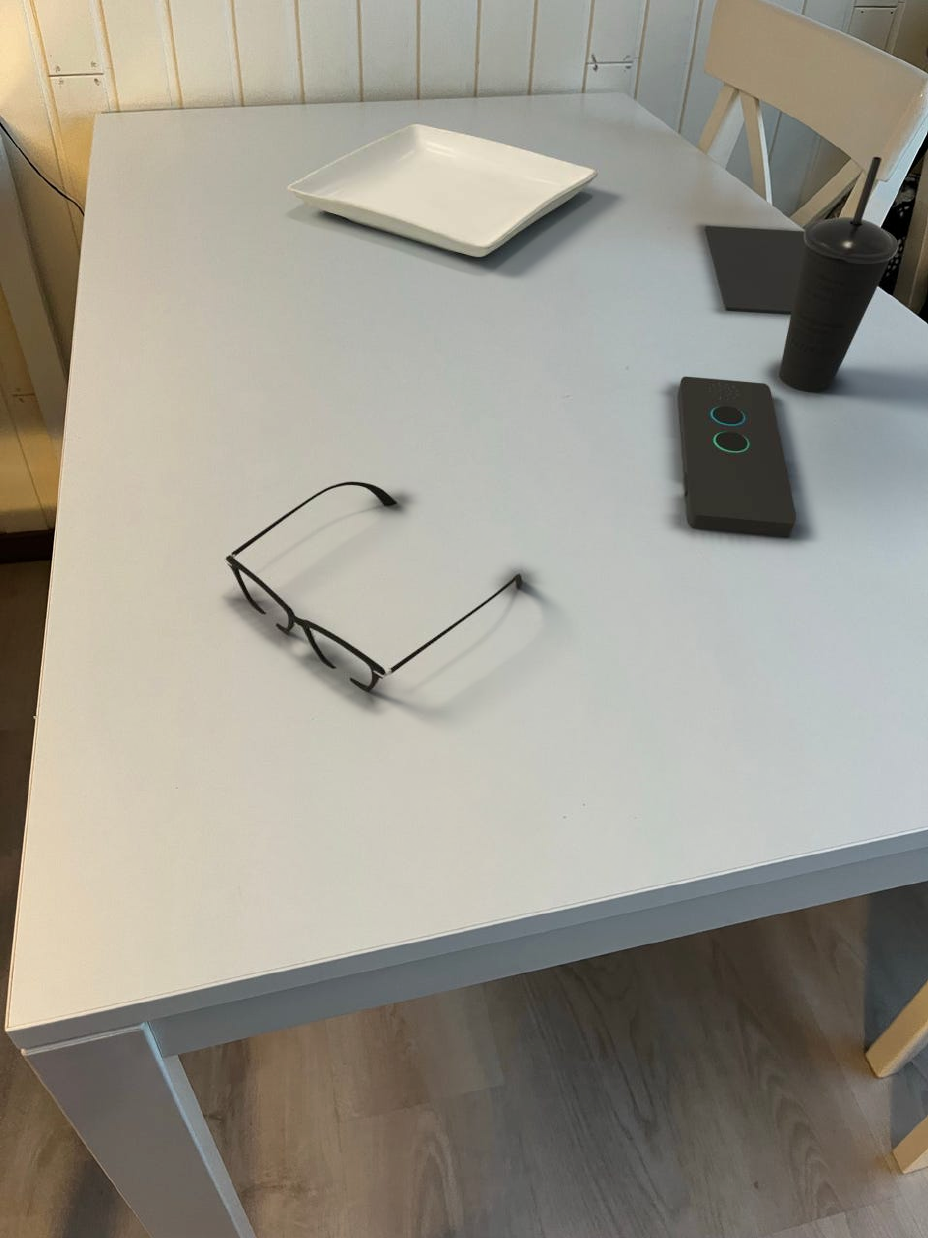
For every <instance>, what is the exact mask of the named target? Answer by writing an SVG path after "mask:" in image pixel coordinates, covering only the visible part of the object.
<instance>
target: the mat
mask: <svg viewBox="0 0 928 1238" xmlns="http://www.w3.org/2000/svg"><path fill="white" fill-rule="evenodd" d="M704 231H705V234H706V239H707V243H708V248H709V251H710V255H711V259H712V263H713V267H714V270H715V274H716V275H715V276H716V278H717V279H716V280H717V282H718V287H719V289H720V291H719V292H720V294H721V298H722V302H723V306H724V311H725V312H736V313H737V312H738V313H739V312H740V313H741V312H742V313H754V314H755V313H756V314H771V315H788V316H791V312H792V307H793V302H794V297H795V292H796V287H797V282H798V277H799V272H800V267H801V262H802V257H803V252H804V247H805V241H804V232H805V231H801V230H786V229H766V228H753V227H751V228H750V227H735V226H719V225H718V226H717V225H705V228H704Z"/></svg>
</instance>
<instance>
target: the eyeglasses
mask: <svg viewBox="0 0 928 1238" xmlns="http://www.w3.org/2000/svg"><path fill="white" fill-rule="evenodd" d="M345 486H356V487H362V488H365V489H367V490H368V491H370V492H371V493H372V494H373V495H374V496H375V497H376V498H377V499H378V500H379V501H380V503H382V504H383V506H385V507H391V506H394V505H396V504H398V502H397V501H396V500H395V499H394V498H393V497H392V496H391V495H389V493H388V492H386V491H385V490H384V489H383V488H380V487H379V486H377V485H374V484H371V483H367V482H363V481H344V482H339V483H336V484H334V485H330V486H328V487H326V488H324V489H322V490H321V491H319V492H316V493H315V494H314V495H312V496H310V497H309V498H308V499H306V500H305V501H303V502H302V503H300V504H299V505H297V506H296V507H294V508H293V509H291V510H290V511H288V512H287V513H286V514H284V515H282V516H281V517H280V518H278V519H277V520H275V521H274V522H273V523H271V524H269V526H267V527H265V528H264V529H263V530H262V531H260V532H259V533H257V534H256V535H254V536H253V537H251V538H250V539H249V540H247V541H246V542H245V543H243V544H242V545H240V546H239V547H238V548H236V549H235V550H233V551H232V552H231V553H229V554H228V555H227V556H226V557H225V558H224V562H225V563H227V566H228V567H229V569H231V572H232V573H233V575H234V578H235V579H236V581H237V584H238V585H239V587H240V589H241V591H242V594H243V595H244V597H245V598H246V600H247V602H248V603H249V604H250V605H251V606H252V607H253V608H254V609H255V610H256V611H257V612H259V613H260V614H261V615H267V612H265V610H264V609H262V607H260V605H258V603H257V602H256V601H255V600H254V599H253V598H252V596H251V594H250V592H249V591H248V588H247V586H246V584H245V582H244V580H243V577H242V575H241V572H242V573H243V574H244V575H246V576H247V577H248V578H249V579H251V581H253V582H254V583H255V584H257V585H258V586H259V587H260V588H261V589H262V590H264V592H266V594H267V595H269V597H271V598H272V599H273V600H274V601H275V603H277V604H278V605H279V606H280V607H281V608H282V609H283V610H284V611H285V613H286V615H287V619H288V620H287V621H288V623H287V627H284V626H282V625H281V624H280V623H278V622H276V624H275V627H276V628H278V630H280V631H281V632H282V633H285V634H288V633H289V632H290V631H292V630H293V628H299V627H301V628H302V631H303V632H304V634H305V637H306V638H307V640H308V642H309V643H310V645H311V648H312V649H313V651H314V652H315V654H316V656H317V657H318V658H319V660H320V661H321V662H322V663H323V664H324V665H325V666H327V667H328V668H330V669H332V670H335V669H337V666H335V665H334V664H333V663H332V662H331V661H329V659H327V657H326V656H325V655H324V653H323V652H322V650H321V649H320V647H319V645H318V644H317V641H316V635H315V634H314V631H316V632H318V633H319V634H321V635H323V636H324V637H326V638H328V639H330V640H331V641H333V642H335V643H336V644H338V645H340V646H341V647H342V648H344V649H345V650H346V651H348V652H349V653H351V654H353V655H354V656H355V657H357V658H358V659H359V660H361V661H362V662H363V663H365V664H366V665H367V666H368V667H369V669H370V672H371V673H370V674H371V681H370V683H369V685H366V684H364V683H362V682H360V681H358V680H357V679H355V678H353V677H350V676H349V681H350V682H351V683H352V684H353V685H355V686H356V687H357V688H359V689H361V690H363V691H366V692H371V691H372V690H373V689H374V688H375V687H376V685H377V684H378V683H379V680H380V679H381V680H383V679H384V678H386V677H387V676H391V675H392V674H393V673H395V672H396V671H397V670H399V669H400V668H402V667H403V666H404V665H405V664H407V663H409V662H410V661H411V660H413V659H414V658H415V657H417V656H418V655H419V654H420V653H422V652H423V651H425V650H426V649H428V648H429V647H430V646H431V645H433V644H434V643H436V642H437V641H438V640H439V639H441V638H442V637H444V636H445V635H446V634H448V633H449V632H450V631H452V630H454V628H456V627H457V626H459V625H460V624H461V623H463V622H464V621H465V620H466V619H468V618H469V617H470V616H472V615H474V614H475V613H476V612H477V611H479V610H480V609H482V608H483V607H484V606H486V605H487V604H488V603H490V601H492V600H493V599H495V598H496V597H497V596H499V595H500V594H501V593H502V592H503V591H505V590H506V589H507V588H509V587H510V586H511V585H512V584H513V583H515V588H516V589H519V588H521V586H522V584H523V579H522V575H521V573H517V574H515V576H513V577H512V579H510V580H509V581H507V583H506V584H505V585H503V586H502V587H501V588H500V589H499V590H498V591H496V592H495V593H493V595H491V596H489V598H487V599H486V600H484V601H483V602H481V603H480V604H478V606H476V607H475V608H474V609H472V610H471V611H469V612H467V614H465V615H464V616H462V617H461V618H460V619H459V620H456V621H455V622H454V623H453V624H452V625H450V626H448V627H447V628H445V629H444V630H443V631H441V632H440V633H439V634H437V635H436V636H434V637H433V638H432V639H430V640H429V641H427V642H426V643H424V644H423V645H422V646H420V647H419V648H417V649H416V650H414V651H413V652H412V653H410V654H409V655H407V656H406V657H404V658H403V659H402V660H400V661H399V662H397V663H396V664H395V665H393V666H392V667H391V668H389V667H388V668H387V671H386V670H385V668H384V667H383V666H381V665H380V664H379V663H377V662H376V661H375V660H374V659H372V658H371V657H369V656H368V655H366V654H365V653H364V652H362V651H361V650H360V649H358V648H356V647H355V646H353V645H352V644H350V643H349V642H347V641H346V640H344V639H343V638H342V637H340V636H338V635H336V634H334V633H333V632H332V631H330V630H327V629H326V628H324V627H322V626H320V625H318V624H316V623H315V622H313V621H311V620H308V619H304V618H300V617H299V616H297V615H296V614H295V612H294V610H293V609H292V607H290V606H289V605H288V603H287V602H285V600H283V599H282V598H281V597H280V596H279V595H278V594H277V593H276V592H275V591H274V590H272V589H271V587H269V585H267V584H266V582H264V581H263V580H262V579H261V578H260V577H258V576H257V575H256V574H255V573H254V572H253V571H251V570H250V569H248V568H247V567H246V566H245V565H243V564H242V563H241V562H240V561H238V560H237V559H236V556H238V555H239V554H240V553H242V552H243V551H244V550H246V549H247V548H248V547H250V546H251V545H253V544H254V543H255V542H256V541H258V540H259V539H261V538H262V537H263V536H264V535H266V534H268V533H269V532H270V531H271V530H272V529H275V527H277V526H278V525H279V524H281V523H282V522H283V521H285V520H286V519H287V518H289V517H290V516H291V515H293V514H294V513H296V512H297V511H298V510H300V509H301V508H302V507H304V506H305V505H307V504H308V503H311V501H313V500H314V499H316V498H317V497H319V496H320V495H322V494H324V493H326V492H328V491H331V490H332V489H336V488H340V487H345ZM240 571H241V572H240Z"/></svg>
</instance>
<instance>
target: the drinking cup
mask: <svg viewBox="0 0 928 1238" xmlns="http://www.w3.org/2000/svg"><path fill="white" fill-rule="evenodd" d="M881 163H882V158H881V157H879V156H873V157H872V159H871V162H870V165H869V169H868V171H867V174H866V179H865V181H864V183H863V184H864V185H863V187H862V191H861V193H860V196H859V200H858V203H857V206H856V209H855V212H854V215H853V217H849V216H840V217H833V218H825V219H819V220H816V221H813V222H811V223H810V224H808V225H807V226H806V228H805V229H804V231H803V232H804V241H805V247H804V252H803V257H802V262H801V267H800V272H799V277H798V282H797V287H796V292H795V297H794V302H793V307H792V312H791V315H790V318H789V323H788V327H787V333H786V336H785V337H786V338H785V343H784V347H783V352H782V358H781V363H780V367H779V373H778V376H779V379H780V381H781V382H782V383H783V384H785V385H786V386H788V387H790V388H792V389H793V390H797V391H800V392H804V393H822V392H825V391H827V390H828V389H830V388H831V387H832V385H833V383H834V380H835V379H836V376H837V374H838V372H839V370H840V368H841V366H842V363H843V361H844V359H845V357H846V354H847V353H848V351H849V349H850V346H851V345H852V343H853V340H854V338H855V335H856V333H857V331H858V329H859V327H860V325H861V323H862V320H863V318H864V317H865V314H866V312H867V310H868V307H869V305H870V304H871V301H872V299H873V298H874V295H875V293H876V290H877V288H878V286H879V284H880V282H881V280H882V278H883V275H884V273H885V271H886V269H887V267H888V264H889V262H890V260H891V259H893V258H894V257H895V256H896V254H897V253H898V250H899V241H898V240H897V238H896V237H895V236H894V235H893V234H892V233H890V232H889V231H887V230H886V229H884V228H882V227H880V226H879V225H877V224H875V223H873V222H871V221H869V220H866V219H863V217H864V215H865V211H866V208H867V205H868V203H869V199H870V196H871V193H872V190H873V188H874V184H875V181H876V178H877V174H878V172H879V169H880V166H881Z"/></svg>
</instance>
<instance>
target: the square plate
mask: <svg viewBox="0 0 928 1238" xmlns="http://www.w3.org/2000/svg"><path fill="white" fill-rule="evenodd" d="M598 175H599V173H598V171H597V170H595V169H594V168H593V169H592V168H589V167H586V166H581V165H579V164H574V163H571V162H568V161H564V160H561V159H557V158H554V157H551V156H547V155H544V154H541V153H537V152H534V151H530V150H527V149H523V148H520V147H516V146H513V145H509V144H506V143H501V142H498V141H494V140H490V139H486V138H483V137H479V136H473V135H469V134H466V133H460V132H456V131H451V130H447V129H442V128H438V127H433V126H429V125H425V124H421V123H413V124H410V125H408V126H406V127H404V128H401V129H399V130H397V131H395V132H393V133H389V134H388V135H386V136H384V137H381V138H379V139H377V140H375V141H373V142H370V143H368V144H366V145H364V146H362V147H360V148H358V149H355V150H354V151H351V152H350V153H348V154H346V155H344V156H341V157H340V158H338V159H336V160H334V161H332V162H330V163H328V164H327V165H325V166H322V167H321V168H318V169H317V170H315V171H313V172H311V173H309V174H307V175H306V176H304V177H302V178H299V179H298V180H296V181H294V182H292V183H291V184H289V185H288V186H286V189H287V190H288V191H289V192H291V193H292V194H294V196H296V197H297V198H298V199H300V200H301V202H304V203H305V204H306V205H309V206H311V207H314V208H316V209H318V210H321V211H324V212H327V213H330V214H334V215H338V216H340V217H344V218H345V219H347V220H349V221H351V222H353V223H356V224H359V225H363V226H366V227H370V228H373V229H376V230H379V231H383V232H386V233H389V234H393V235H396V236H399V237H403V238H405V239H409V240H412V241H414V242H415V241H416V242H417V243H418V242H419V243H422V244H425V245H428V246H431V247H435V248H436V249H437V248H438V249H441V250H444V251H448V252H453V253H460V254H464V255H467V256H470V257H475V258H482V257H485V256H487V255H488V254H490V253H492V252H494V251H495V250H496V249H498V248H499V247H501V246H503V245H504V244H505V243H507V241H509V240H511V239H512V238H513V237H514V236H516V235H517V234H519V233H520V232H521V231H523V230H525V229H526V228H527V227H529V226H530V225H531V224H533V223H534V222H536V221H538V220H539V219H541V218H543V217H544V216H545V215H547V214H548V213H551V212H552V211H553V210H555V209H557V208H558V207H560V206H562V205H563V204H565V203H566V202H568V201H570V199H572V198H574V197H575V196H576V195H578V194H579V193H580V192H581V191H583V190H584V189H585V188H586V187H587V186H588V185H589V184H590V183H591V182H593V180H594V179H595V178H597V177H598Z"/></svg>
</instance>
